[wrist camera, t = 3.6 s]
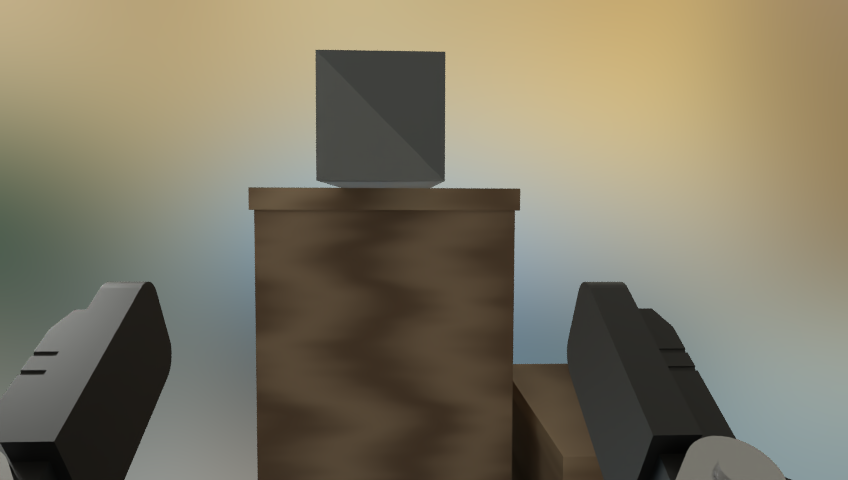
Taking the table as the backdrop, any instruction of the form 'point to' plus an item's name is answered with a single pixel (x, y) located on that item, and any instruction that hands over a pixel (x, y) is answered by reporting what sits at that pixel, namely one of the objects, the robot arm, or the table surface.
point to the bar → (380, 118)
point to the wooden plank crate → (401, 342)
